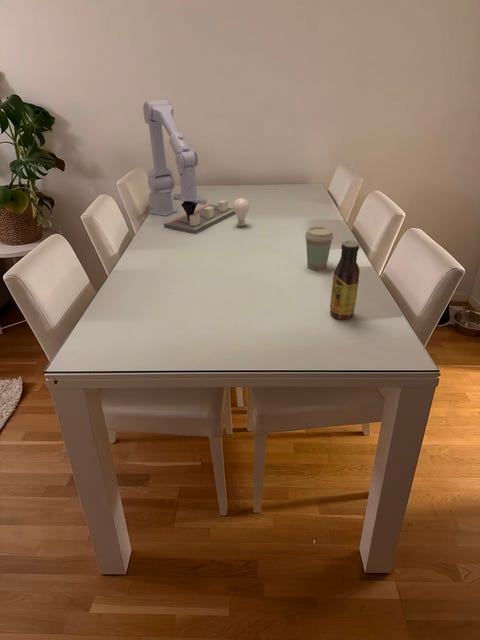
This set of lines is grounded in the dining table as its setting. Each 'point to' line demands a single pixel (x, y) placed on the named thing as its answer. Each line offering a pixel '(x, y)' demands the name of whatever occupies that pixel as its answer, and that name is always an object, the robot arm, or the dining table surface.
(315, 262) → the coffee cup
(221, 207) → the breaker left
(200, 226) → the breaker panel
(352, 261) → the sauce bottle
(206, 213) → the breaker middle
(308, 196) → the dining table surface
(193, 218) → the block
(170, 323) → the dining table surface
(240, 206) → the lightbulb
